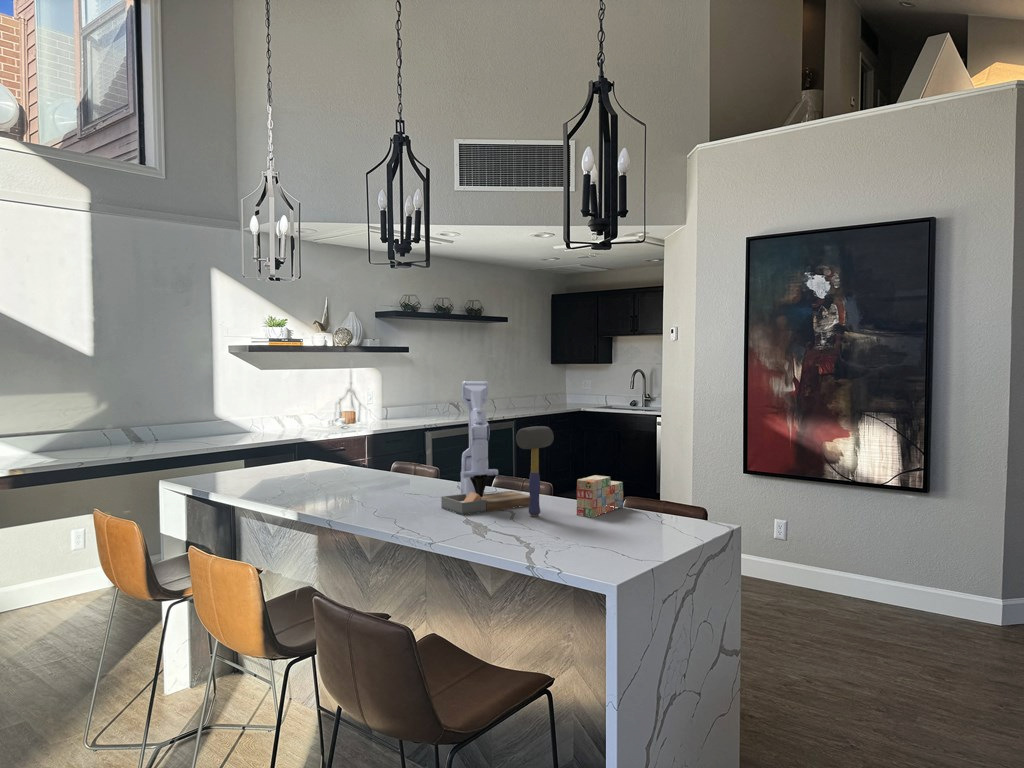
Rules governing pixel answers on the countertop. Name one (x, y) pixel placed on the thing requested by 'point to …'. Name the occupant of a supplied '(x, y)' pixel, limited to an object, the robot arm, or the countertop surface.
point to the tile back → (472, 497)
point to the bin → (462, 504)
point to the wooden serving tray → (505, 500)
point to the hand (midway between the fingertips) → (479, 496)
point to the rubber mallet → (534, 459)
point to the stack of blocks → (598, 495)
